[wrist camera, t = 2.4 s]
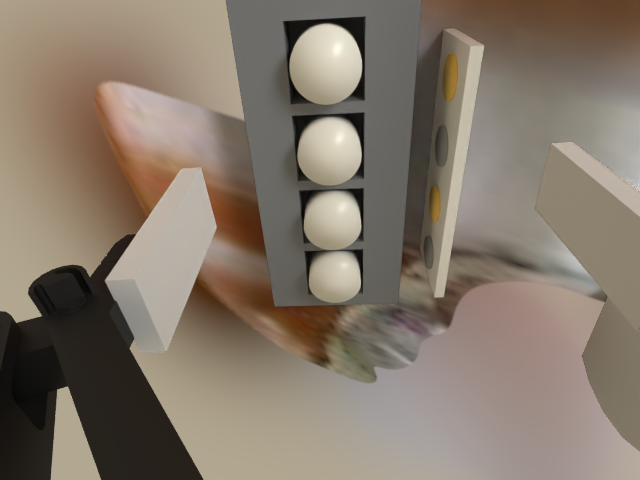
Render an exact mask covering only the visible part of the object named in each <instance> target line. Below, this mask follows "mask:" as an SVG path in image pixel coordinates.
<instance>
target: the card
mask: <svg viewBox="0 0 640 480" xmlns="http://www.w3.org/2000/svg"><path fill="white" fill-rule="evenodd" d="M483 51H484V45H482V44H481V43H479V42H477V41H476V40H474V39H472V38H470V37H469V36H467V35H465V34H463V33H462V32H460V31H458V30H456V29H455V28H452V29H443V38H442V47H441V56H440V66H439V75H438V84H437V94H436V103H435V112H434V122H433V131H432V140H431V150H430V159H429V168H428V178H427V187H426V197H425V206H424V215H423V225H422V234H421V243H420V252H421V255H422V259H423V262H424V265H425V268H426V272H427V275H428V278H429V281H430V285H431V288H432V291H433V295H434V297H444V292H445V286H446V280H447V274H448V268H449V261H450V255H451V249H452V243H453V237H454V231H455V224H456V218H457V212H458V206H459V200H460V193H461V187H462V181H463V175H464V169H465V163H466V156H467V150H468V144H469V138H470V132H471V125H472V119H473V113H474V107H475V101H476V95H477V88H478V82H479V76H480V70H481V64H482V57H483Z"/></svg>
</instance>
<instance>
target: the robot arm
mask: <svg viewBox="0 0 640 480" xmlns="http://www.w3.org/2000/svg"><path fill="white" fill-rule="evenodd" d="M535 209H536V210H537V212H538V213H539V214H540V215H541V217H542V218H543V219H544V220H545V221H546V223H547V224H548V225H549V226H550V227H551V229H552V230H553V231H554V232H555V233H556V235H557V236H558V237H559V238H560V239H561V241H562V242H563V243H564V244H565V245H566V247H567V248H568V249H569V250H570V251H571V253H572V254H573V255H574V256H575V257H576V259H577V260H578V261H579V262H580V263H581V265H582V266H583V267H584V268H585V269H586V271H587V272H588V273H589V274H590V276H591V277H592V278H593V279H594V280H595V282H596V283H597V284H598V285H599V286H600V288H601V289H602V290H603V291H604V292H605V294H606V295H607V296H608V297H609V298H610V300H611V301H612V302H613V303H614V304H615V306H616V307H617V308H618V309H619V310H620V312H621V313H622V314H623V315H624V316H625V318H626V319H627V320H628V321H629V322H630V324H631V325H632V326H633V327H634V328H635V330H636V331H640V192H639V191H637V190H636V189H635V188H633V187H632V186H631V185H629V184H628V183H627V182H625V181H624V180H623V179H621V178H620V177H619V176H617V175H616V174H615V173H613V172H612V171H611V170H609V169H608V168H607V167H605V166H604V165H603V164H601V163H600V162H599V161H597V160H596V159H595V158H593V157H592V156H591V155H589V154H588V153H587V152H585V151H584V150H583V149H581V148H580V147H579V146H577V145H576V144H575V143H573V142H562V143H551V145H550V149H549V153H548V157H547V161H546V165H545V169H544V173H543V177H542V181H541V184H540V188H539V192H538V196H537V200H536V204H535ZM216 228H217V226H216V223H215V219H214V215H213V211H212V208H211V204H210V200H209V196H208V192H207V189H206V185H205V181H204V177H203V174H202V170H201V167H200V168H186V169H181V170H180V172H179V173H178V175H177V176H176V177H175V179H174V180H173V182H172V183H171V185H170V186H169V188H168V189H167V191H166V192H165V193H164V195H163V196H162V198H161V199H160V201H159V202H158V204H157V205H156V207H155V208H154V210H153V211H152V212H151V214H150V215H149V217H148V218H147V220H146V221H145V223H144V224H143V226H142V227H141V229H140V230H139V231H138V233H137V234H132V235H126V236H125V237H124V238H122V239H121V240H120V241H118V242H117V243H115V245H114V246H113V247H112V248H111V250H110V251H109V252H108V254H107V256H106V257H105V258H104V259H103V261H102V262H101V265H99V266H98V267H97V269H96V270H95V271H94V273H93V274H92V275H91V277H89V275H88V273H87V271H86V270H85V269H84V268H83V267H82V266H78V265H68V266H62V267H59V268H56V269H53V270H51V271H49V272H47V273H45V274H43V275H41V276H40V277H39V278H37V279H36V280H35V281H34V282H33V283H32V284H31V286H30V287H29V291H28V294H29V296H30V298H31V299H32V301H33V302H34V304H35V305H36V307H37V308H38V310H39V311H40V313H41V314H42V316H41V317H37V318H34V319H30V320H26V321H22V322H18V323H16V322H15V320H14V319H13V318H12V316H11V315H10V314H8V313H7V312H2V311H0V480H50V479H51V466H52V452H53V439H54V425H55V411H56V398H57V389H60V388H64V387H67V386H68V387H69V390H70V393H71V396H72V399H73V401H74V404H75V407H76V410H77V413H78V416H79V418H80V421H81V424H82V427H83V430H84V432H85V435H86V438H87V441H88V444H89V446H90V449H91V452H92V455H93V458H94V460H95V463H96V466H97V469H98V472H99V475H100V478H101V480H203V478H202V476H201V474H200V473H199V471H198V469H197V467H196V466H195V464H194V462H193V460H192V458H191V457H190V455H189V453H188V452H187V450H186V448H185V446H184V445H183V443H182V441H181V439H180V437H179V436H178V434H177V432H176V430H175V428H174V427H173V425H172V423H171V422H170V420H169V418H168V416H167V414H166V413H165V411H164V409H163V407H162V406H161V404H160V402H159V400H158V399H157V397H156V395H155V393H154V391H153V390H152V388H151V386H150V384H149V383H148V381H147V379H146V377H145V376H144V374H143V372H142V370H141V368H140V367H139V365H138V363H137V361H136V360H135V358H134V356H133V354H132V353H131V351H130V349H129V348H130V346H131V344H132V342H133V340H134V341H135V343H136V344H137V347H138V348H139V351H140V353H151V352H166V351H167V349H168V346H169V344H170V342H171V339H172V336H173V334H174V332H175V329H176V327H177V324H178V321H179V319H180V317H181V314H182V312H183V309H184V307H185V304H186V302H187V300H188V297H189V294H190V292H191V290H192V287H193V285H194V282H195V280H196V277H197V275H198V272H199V270H200V267H201V265H202V263H203V260H204V258H205V255H206V253H207V250H208V248H209V245H210V243H211V240H212V238H213V235H214V233H215V230H216Z"/></svg>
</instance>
